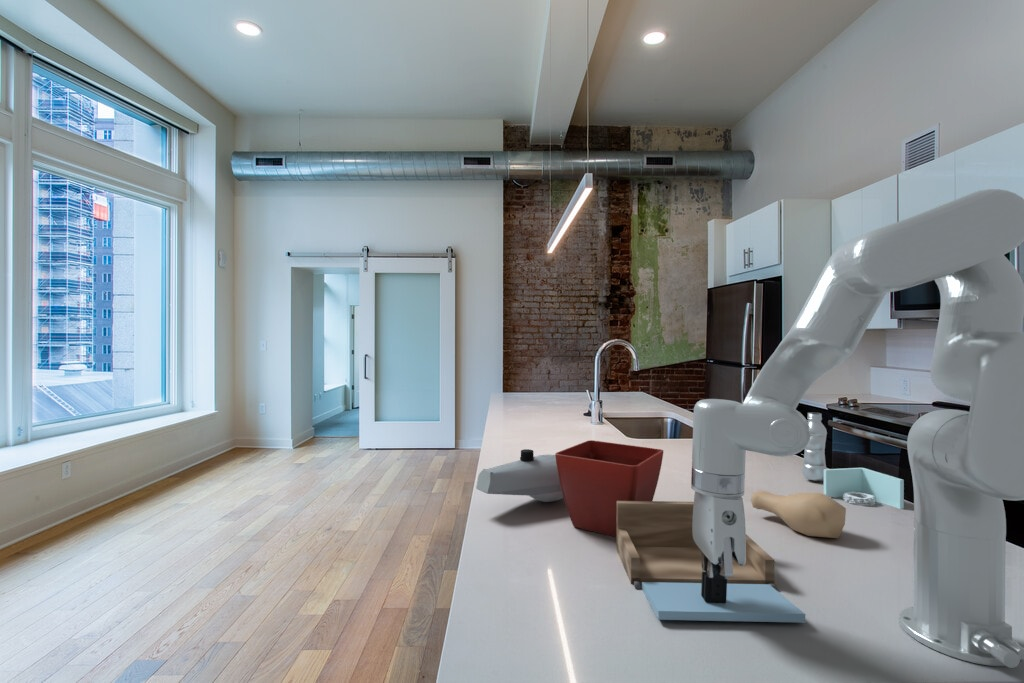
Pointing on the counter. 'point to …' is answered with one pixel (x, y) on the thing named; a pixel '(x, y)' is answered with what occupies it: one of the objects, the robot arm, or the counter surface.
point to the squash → (804, 512)
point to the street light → (524, 478)
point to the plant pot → (605, 481)
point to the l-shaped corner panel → (864, 487)
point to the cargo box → (674, 546)
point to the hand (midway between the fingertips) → (713, 600)
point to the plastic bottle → (815, 449)
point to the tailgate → (739, 605)
